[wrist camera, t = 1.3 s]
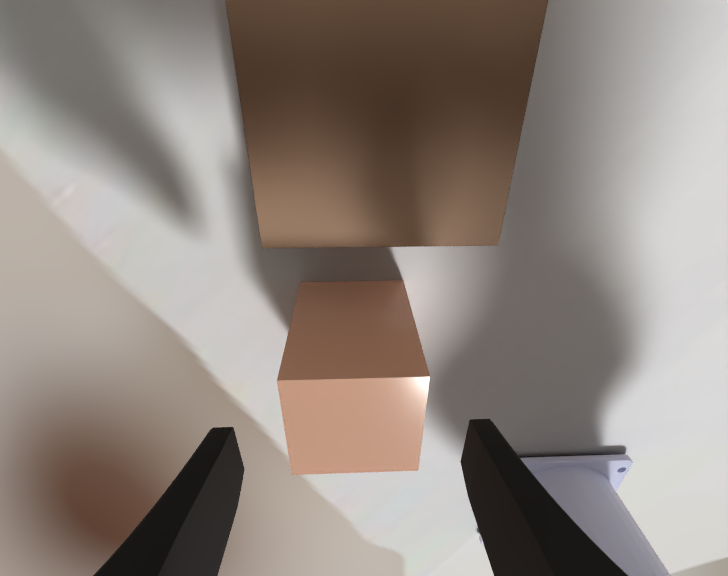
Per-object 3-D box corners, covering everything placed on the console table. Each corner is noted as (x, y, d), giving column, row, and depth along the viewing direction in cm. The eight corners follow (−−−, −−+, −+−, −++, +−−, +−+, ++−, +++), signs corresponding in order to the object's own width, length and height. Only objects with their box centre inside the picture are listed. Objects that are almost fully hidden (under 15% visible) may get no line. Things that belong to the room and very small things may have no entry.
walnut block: (471, 216, 15) (497, 245, 12) (276, 218, 15) (262, 248, 12) (512, -38, 11) (563, -74, 8) (245, -43, 11) (213, -82, 8)
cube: (398, 358, 18) (418, 470, 13) (308, 360, 18) (291, 474, 13) (403, 280, 16) (430, 377, 11) (300, 281, 16) (276, 380, 11)
